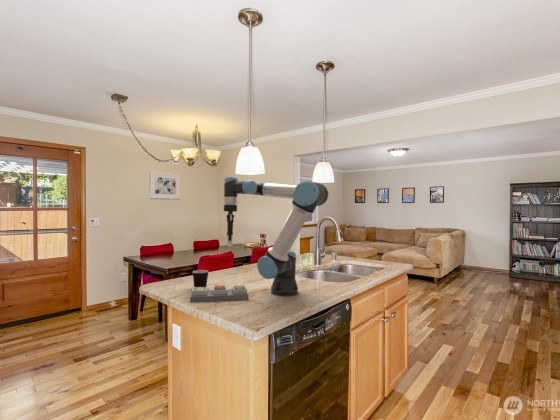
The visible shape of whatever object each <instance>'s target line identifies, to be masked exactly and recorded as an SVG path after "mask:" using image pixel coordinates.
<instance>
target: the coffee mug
mask: <svg viewBox="0 0 560 420" xmlns="http://www.w3.org/2000/svg"><path fill="white" fill-rule="evenodd" d="M208 278H209V270H206V269H197V270H193V271H192V279H193V281H192V282H193V287H208V286H207V284H208Z"/></svg>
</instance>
